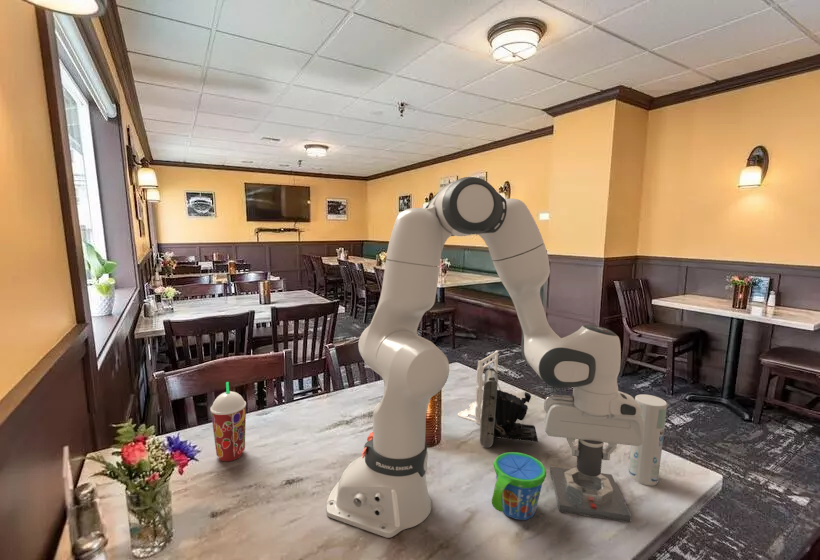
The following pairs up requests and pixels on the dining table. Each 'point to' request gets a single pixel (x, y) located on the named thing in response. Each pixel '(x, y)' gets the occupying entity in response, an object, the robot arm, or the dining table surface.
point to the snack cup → (517, 484)
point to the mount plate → (588, 494)
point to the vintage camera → (503, 414)
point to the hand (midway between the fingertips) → (589, 456)
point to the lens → (590, 457)
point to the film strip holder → (479, 390)
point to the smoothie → (229, 424)
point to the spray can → (649, 441)
